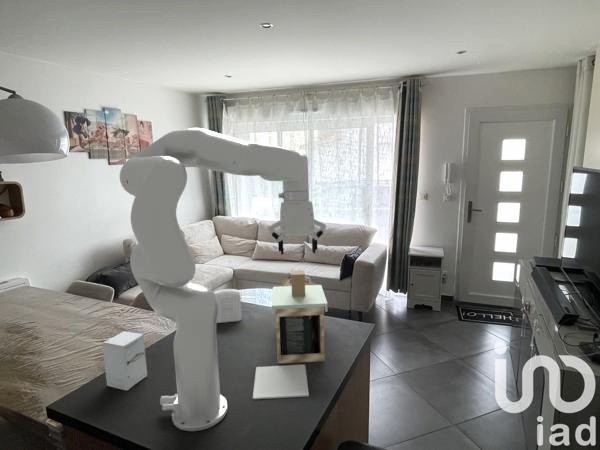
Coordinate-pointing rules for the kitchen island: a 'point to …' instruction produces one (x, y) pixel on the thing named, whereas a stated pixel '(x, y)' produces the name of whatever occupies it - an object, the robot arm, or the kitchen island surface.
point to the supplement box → (124, 360)
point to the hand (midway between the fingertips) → (298, 252)
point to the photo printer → (228, 305)
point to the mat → (280, 382)
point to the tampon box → (298, 334)
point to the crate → (319, 334)
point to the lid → (298, 294)
